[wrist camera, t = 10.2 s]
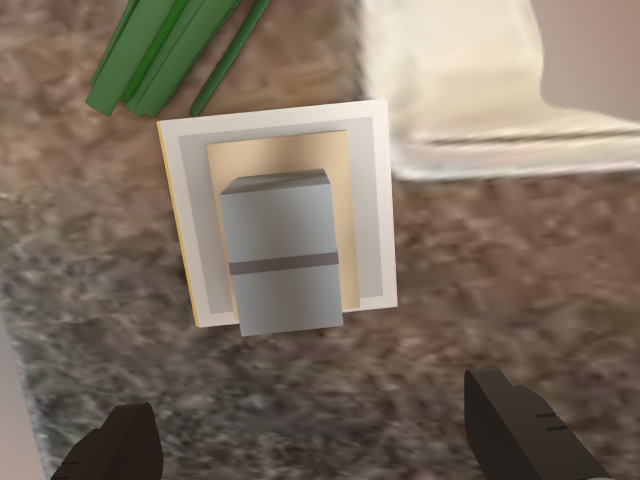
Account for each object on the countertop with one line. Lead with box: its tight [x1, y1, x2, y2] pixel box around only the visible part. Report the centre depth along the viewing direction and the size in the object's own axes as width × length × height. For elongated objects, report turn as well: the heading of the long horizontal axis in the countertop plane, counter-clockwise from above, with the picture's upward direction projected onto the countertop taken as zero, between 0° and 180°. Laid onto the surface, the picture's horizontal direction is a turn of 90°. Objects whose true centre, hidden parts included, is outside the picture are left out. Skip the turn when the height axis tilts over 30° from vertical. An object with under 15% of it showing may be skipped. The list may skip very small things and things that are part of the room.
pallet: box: [206, 130, 360, 336], centre depth 24 cm, size 8×11×8 cm
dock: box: [156, 99, 397, 328], centre depth 30 cm, size 14×14×4 cm
